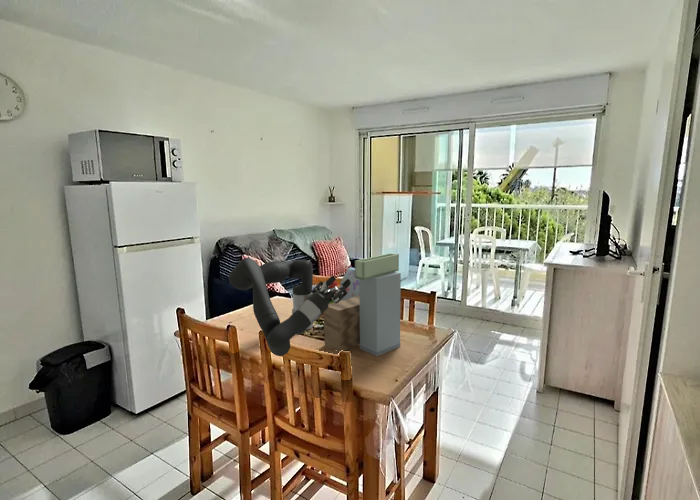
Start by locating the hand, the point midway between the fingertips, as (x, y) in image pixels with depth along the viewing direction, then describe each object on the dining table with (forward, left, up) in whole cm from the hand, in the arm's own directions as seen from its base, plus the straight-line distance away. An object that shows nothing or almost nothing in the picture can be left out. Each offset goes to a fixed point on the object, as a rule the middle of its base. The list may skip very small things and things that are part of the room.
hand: (341, 278), depth 143 cm
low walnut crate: (0, +21, -33) cm, 40 cm away
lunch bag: (+3, +47, -34) cm, 58 cm away
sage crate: (+12, +15, -1) cm, 20 cm away
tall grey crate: (+13, +16, -33) cm, 39 cm away
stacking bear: (-16, +60, -34) cm, 71 cm away
